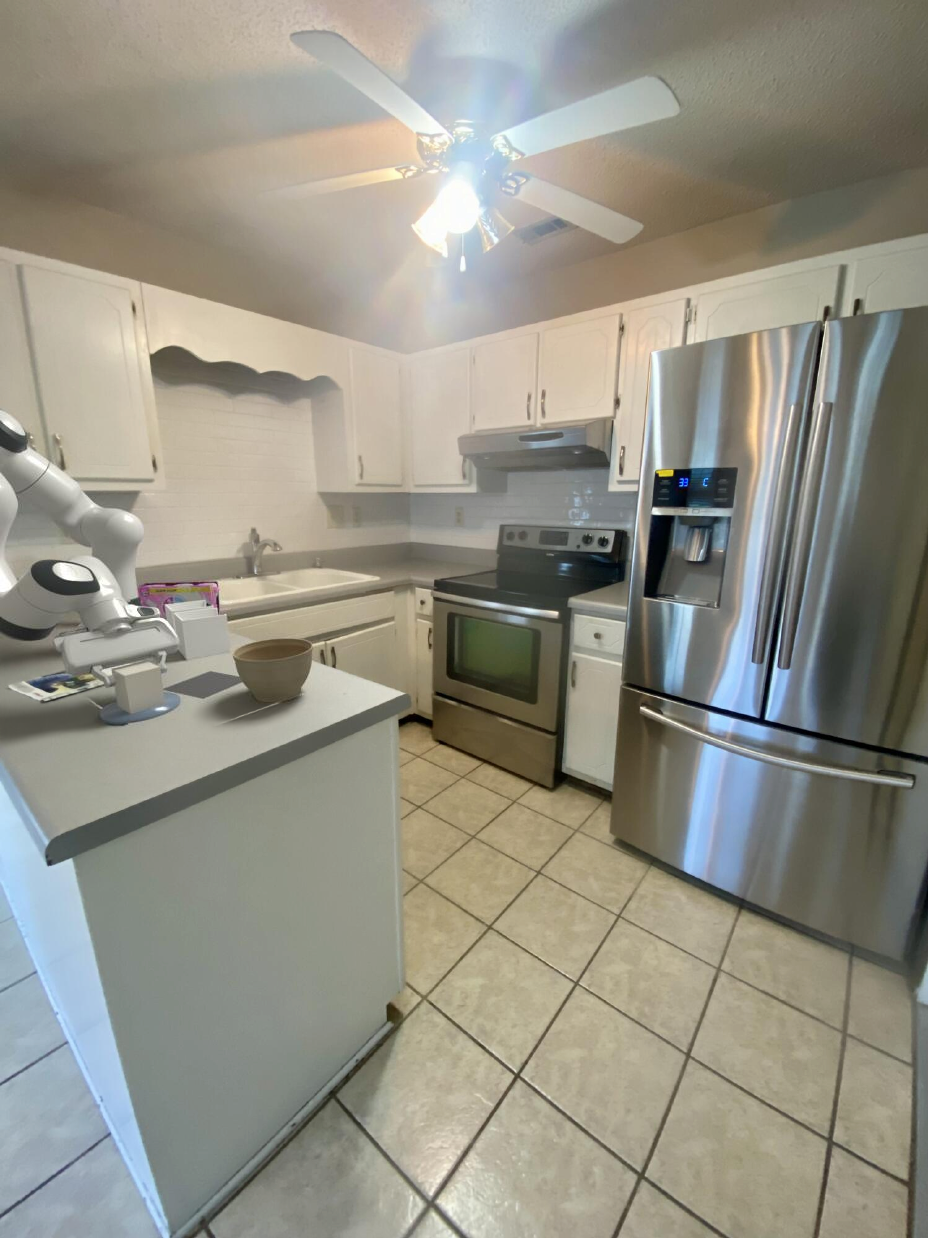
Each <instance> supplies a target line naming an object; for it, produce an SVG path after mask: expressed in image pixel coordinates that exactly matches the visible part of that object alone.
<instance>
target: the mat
mask: <svg viewBox="0 0 928 1238" xmlns="http://www.w3.org/2000/svg"><path fill="white" fill-rule="evenodd" d="M241 683H243V682H242V680H241V678H240V677H239V675H238V676H237V675H233V674H226V673H221V672H216V671H212V670H209V671H207V672H205V673H201V674H198V675H196V676H193V677H191V678H189V679H186V680H183V681H181V682H177V683H175V684H172V685H169V686H167V687H163V690H164V691H165V692H170V693H174V694H179V695H180V694H181V695H185V696H190V697H194V698H199V699H203V700H204V699H206V698H209V697H211V696H214V695H215V694H218V693H221V692H223V691H224V690H228V689H230V688H233V687H234V686H237V685H239V684H241Z"/></svg>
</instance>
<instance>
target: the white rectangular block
mask: <svg viewBox="0 0 928 1238" xmlns="http://www.w3.org/2000/svg"><path fill="white" fill-rule="evenodd" d="M111 675H113V676H114V679H115V680H116V684H115V686H113V687H114V691H115V697H116V700H117V704H118V707H120V708H122V709H123V710H125V711H127V712H128V713H130V714H133V713H137V712H140V711H143V710H146V709H150V708H153V707H156V706H160V705H163V704H165V697H164V692H165V690H163V689H164V685H163V679H162V678H163V677H162V674H161V670H160V667H159V666H157V664H154V663H152V662H150V661H148V660H145V661H144V660H142V661H138V662H133V663H129V664H125V665H121V666H116V667H112V668H111Z"/></svg>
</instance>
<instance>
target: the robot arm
mask: <svg viewBox="0 0 928 1238" xmlns="http://www.w3.org/2000/svg"><path fill="white" fill-rule="evenodd" d="M28 444H29V439H28V433H27V431H26V429H25V428H24V427H23V426H22V424H20V422H19V421H18V420H17V419H16V418H14V417H13V416H12V415H11V414H10V413H8V412H6V411H5V410H3V409H2V408H0V633H1V634H2V635H3V636H5V637H7V638H9V639H12V640H15V641H22V642H33V641H40V640H43V639H46V638H47V637H49V635H51V633H52V632H53V631H54V629H55V628H56V626H58V624H59V623H60V621H61V620H62V619H63V618H64V617H65V616H66V615H67V614H68V613H69V612H74V613H77V614H78V615H79V618H80V621H81V622H80V623H79V624H78V625H77V627H76V629H75V630H70V631H63V632H60V633H59V634H58V635H56V636H54V638H53V639H52V644H53V646H54V648H55V650H56V651H57V652H59V653H61V654H60V655H61V660H62V664H63V667H64V669H65V672H66V674H68V675H70V676H72V677H75V676H76V677H77V676H80V675H85V674H90V673H91V675H92V677H93V678H96V679H98V680H99V681H100V682H103V684H104V686H105V688H106V689H108V688H112V687H114V686H115V684H116V680H115V679H114V676H113V675H112V674H110V675H108V674H106V673H105V672H104V671H103V670H107V669H110V668H111V669H112V668H117V667H121V666H125V665H129V664H134V663H138V662H142V661H144V660H145V661H146V660H150V659H153V658H155V659H156V661H159V663H156V665H157V666H159V667H160V670H161V675H162V674H166V673H167V672H168V667H167V664H166V657H167V655H171V654H174V653H176V652H177V650H178V649H179V648H178V646H179V643H180V640H179V638H178V636H177V634H176V632H175V631H174V629H173V628H172V626H171V625H170V624H169V623H168V622H167V621H166V620H165V619H163V618H160V611H159V609H158V608H155V607H143V606H142V601H141V598H140V596H138V589H137V586H138V583H137V582H138V581H137V575H136V559H137V553H138V547H139V545H140V544H141V542H142V540H143V539H144V535H145V528H144V525H143V523H142V521H141V519H140V518H139V517H137V516H136V515H135V514H134V513H131V512H129V511H126V510H125V509H124V510H123V509H121V508H114V507H113V508H110V507H106V508H105V507H103V506H100V505H98V504H97V503H95V502H94V501H92V499H91V498H90V497H89V496H88V495H87V494H86V493H85V492H84V491H83V490H82V487H81V485H80V484H79V482H78V481H76V480H75V479H73V478H72V477H71V476H69V475H68V474H67V473H65V472H64V470H61V468H59V467H58V466H57V465H56V464H54V463H52V462H51V461H50V460H48V459H47V458H45V457H44V456H43V455H42V454H40V453H38V452H37V451H36V450H34V449H33V448H31V447H30V446H28ZM17 497H18V498H19V499H21V500H23V501H24V502H25V503H27V504H29V506H31V507H32V508H34V509H35V510H37V511H38V512H40V513H41V514H43V515H45V516H46V518H48V519H49V520H50V521H52V523H53V524H55V525H56V526H57V527H58V528H60V529H61V530H62V532H63V533H65V534H66V536H67V537H68V538H69V539H70V540H72V542H75V543H77V544H79V545H81V546H83V547H86V548H89V549H90V548H91V555H75V556H72V557H69V558H68V559H66V560H62V559H41V560H38V561H35V562H34V563H33V564H32V565H31V566H30V567H29V568H28V569H27V570H26V571H25V572H24V573H23V574H22V575H21V577H19V579H17V577H16V576H15V574H14V572H13V571H12V569H11V567H10V565H9V563H8V561H7V559H6V558H7V557H6V553H5V552H6V551H5V547H6V543H7V539H8V535H9V533H10V531H11V527H12V525H13V523H14V521H15V518H16V517H17V514H18V509H19V503H18V499H17Z"/></svg>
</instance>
